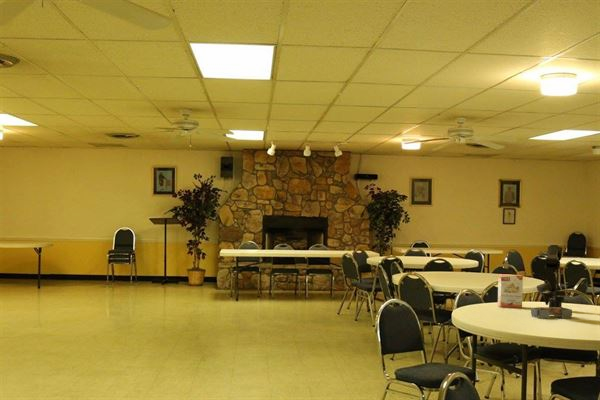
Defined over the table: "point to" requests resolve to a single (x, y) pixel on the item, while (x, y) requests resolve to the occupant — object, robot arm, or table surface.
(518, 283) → the cracker box
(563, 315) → the brackets
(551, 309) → the walnut rail
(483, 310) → the table surface
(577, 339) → the table surface
